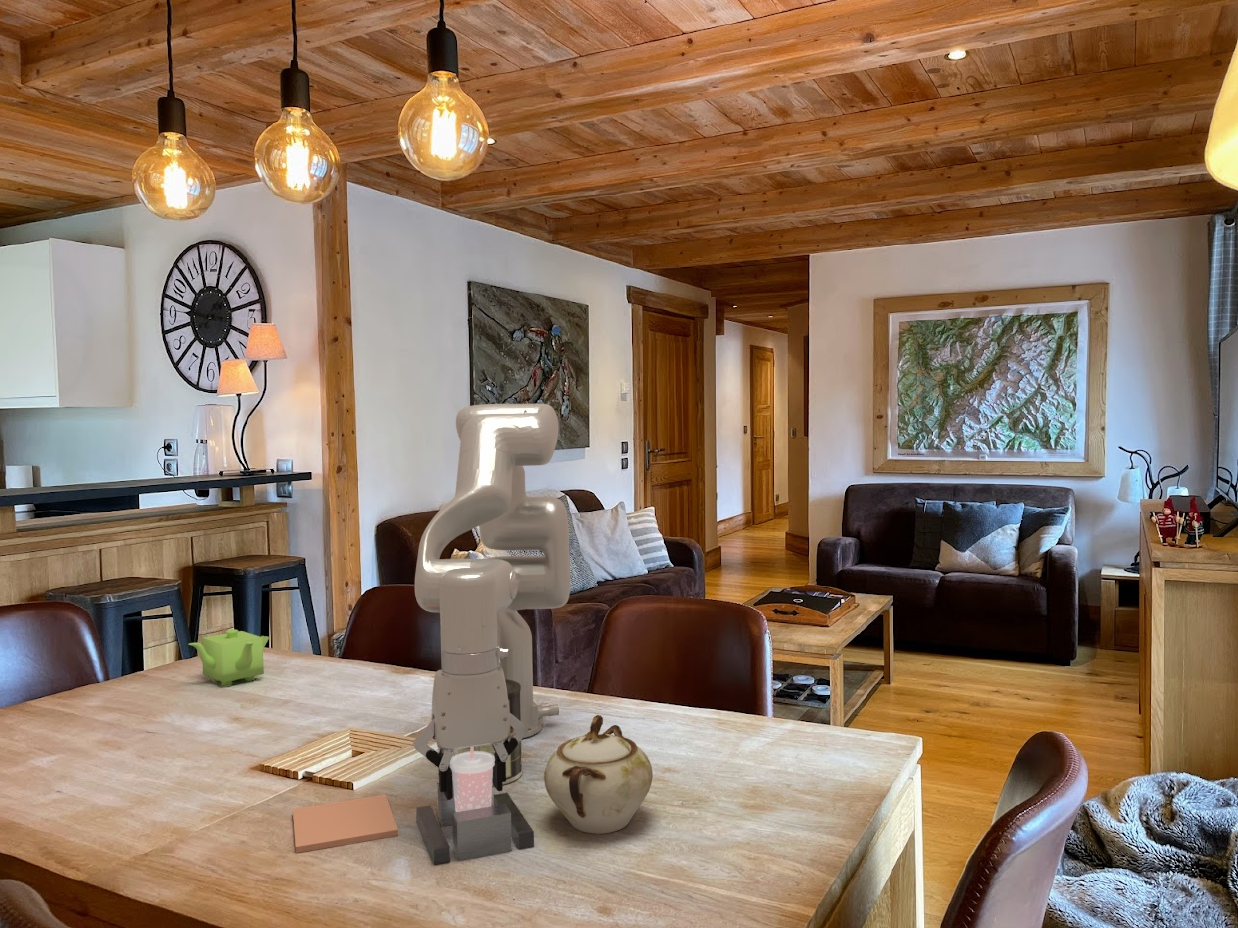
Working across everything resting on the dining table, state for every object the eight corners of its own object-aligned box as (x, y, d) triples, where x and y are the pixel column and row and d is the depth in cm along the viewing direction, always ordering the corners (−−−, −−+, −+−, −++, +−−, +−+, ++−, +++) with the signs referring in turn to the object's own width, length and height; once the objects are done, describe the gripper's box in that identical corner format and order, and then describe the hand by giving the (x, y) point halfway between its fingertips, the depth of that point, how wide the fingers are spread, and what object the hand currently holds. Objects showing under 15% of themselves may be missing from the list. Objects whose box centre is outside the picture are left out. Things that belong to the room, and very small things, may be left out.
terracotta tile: (385, 799, 135) (385, 794, 135) (398, 835, 123) (397, 829, 123) (292, 814, 130) (292, 808, 130) (295, 852, 118) (295, 846, 118)
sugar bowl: (629, 860, 115) (627, 742, 114) (520, 845, 119) (518, 732, 119) (669, 799, 133) (667, 697, 133) (573, 788, 138) (571, 690, 137)
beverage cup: (492, 834, 120) (490, 730, 120) (446, 834, 120) (444, 730, 120) (499, 813, 127) (497, 714, 126) (455, 814, 127) (453, 715, 126)
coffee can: (496, 758, 151) (494, 674, 151) (535, 774, 144) (534, 686, 144) (443, 775, 144) (441, 687, 144) (482, 793, 137) (480, 700, 136)
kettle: (254, 688, 196) (252, 636, 195) (187, 691, 195) (185, 639, 194) (276, 670, 211) (275, 622, 210) (213, 672, 210) (212, 624, 209)
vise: (507, 805, 132) (506, 771, 132) (534, 846, 119) (533, 808, 119) (416, 821, 127) (415, 786, 127) (434, 865, 114) (433, 825, 114)
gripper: (524, 647, 129) (527, 771, 130) (400, 661, 123) (404, 791, 124) (539, 660, 122) (542, 791, 123) (408, 675, 116) (412, 813, 117)
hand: (472, 790), depth 123 cm, fingers closed on beverage cup, 6 cm apart
